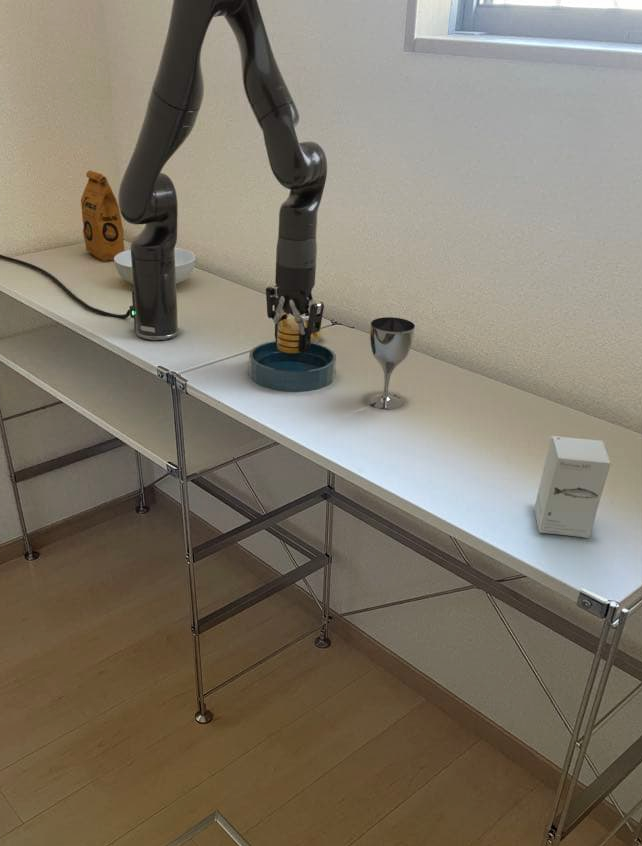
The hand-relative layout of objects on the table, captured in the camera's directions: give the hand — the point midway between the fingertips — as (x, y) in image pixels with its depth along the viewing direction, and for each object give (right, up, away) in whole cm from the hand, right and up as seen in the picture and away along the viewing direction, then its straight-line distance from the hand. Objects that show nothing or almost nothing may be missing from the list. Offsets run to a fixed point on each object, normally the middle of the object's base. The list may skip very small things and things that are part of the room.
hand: (292, 346), depth 163 cm
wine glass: (+18, -12, -5) cm, 22 cm away
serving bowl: (-35, +29, +53) cm, 70 cm away
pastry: (+3, +6, +20) cm, 21 cm away
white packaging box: (+39, -36, -41) cm, 67 cm away
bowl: (0, -5, +3) cm, 6 cm away
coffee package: (-52, +43, +73) cm, 100 cm away
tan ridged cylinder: (0, -1, 0) cm, 1 cm away
